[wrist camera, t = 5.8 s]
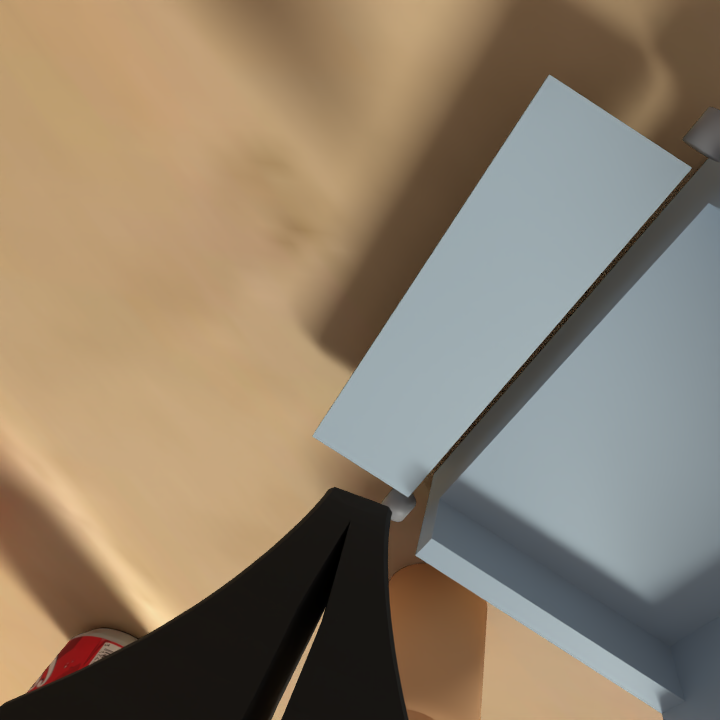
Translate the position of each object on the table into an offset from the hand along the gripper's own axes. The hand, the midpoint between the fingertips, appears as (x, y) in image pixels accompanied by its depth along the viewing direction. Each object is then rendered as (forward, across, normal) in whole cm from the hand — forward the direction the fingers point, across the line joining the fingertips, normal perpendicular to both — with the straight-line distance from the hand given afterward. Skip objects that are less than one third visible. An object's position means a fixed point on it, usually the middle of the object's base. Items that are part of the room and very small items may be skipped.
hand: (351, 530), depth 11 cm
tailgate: (+7, -3, -2) cm, 8 cm away
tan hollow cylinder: (+9, -4, +12) cm, 16 cm away
